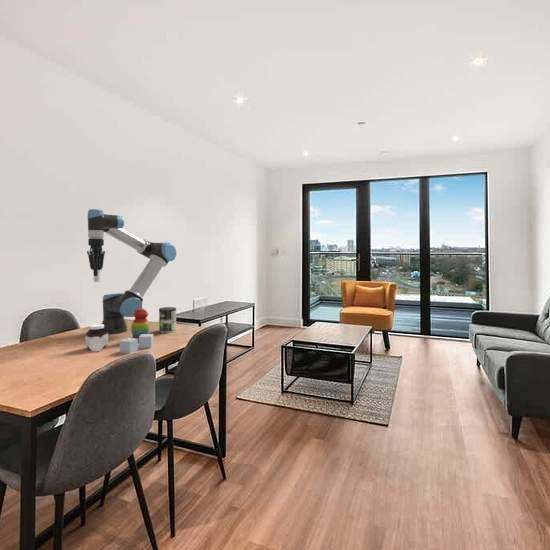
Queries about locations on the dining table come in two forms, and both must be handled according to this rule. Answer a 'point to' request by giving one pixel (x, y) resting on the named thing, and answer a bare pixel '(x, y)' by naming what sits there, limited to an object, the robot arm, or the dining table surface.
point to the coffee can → (167, 319)
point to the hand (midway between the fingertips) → (97, 281)
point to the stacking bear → (140, 323)
